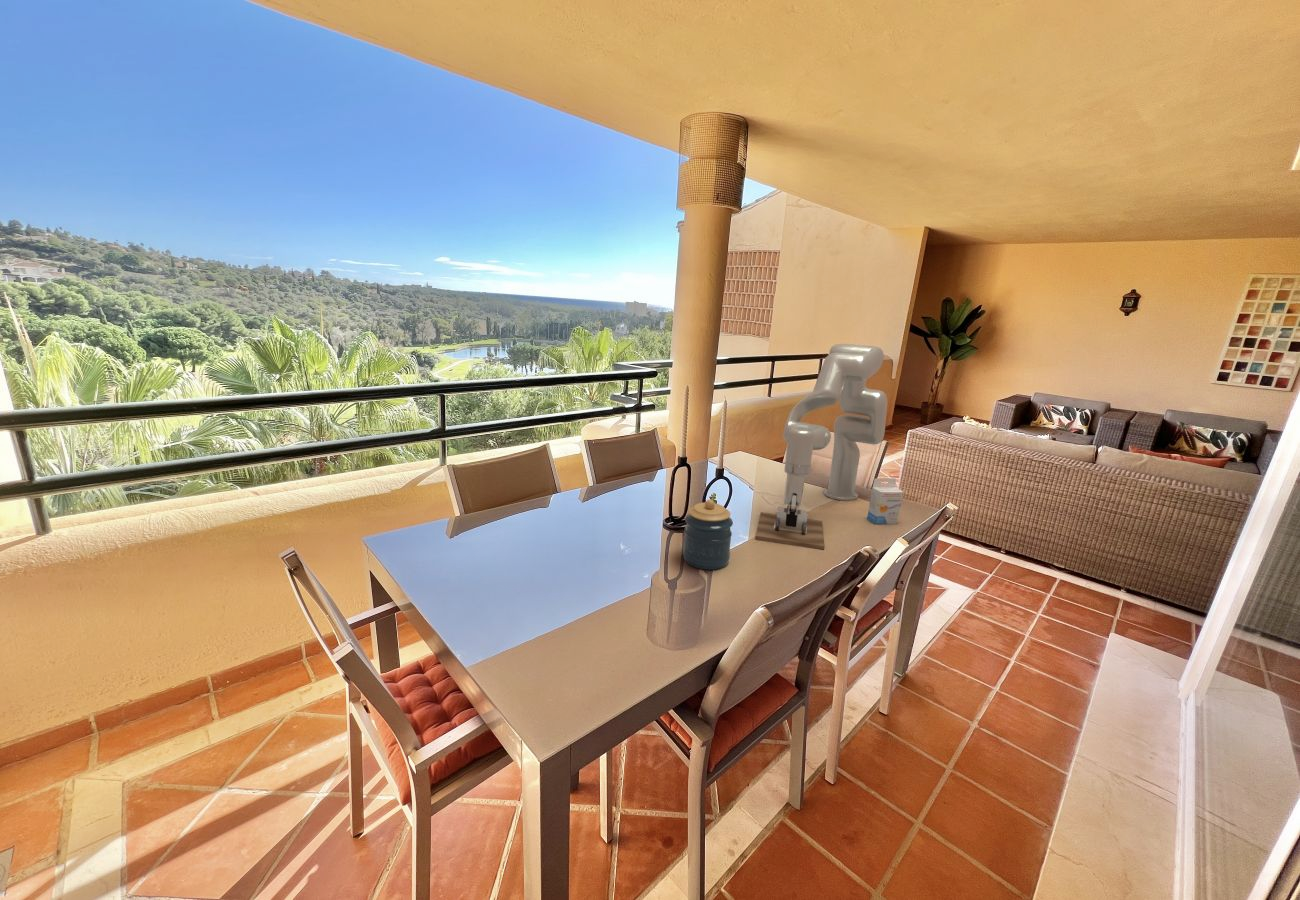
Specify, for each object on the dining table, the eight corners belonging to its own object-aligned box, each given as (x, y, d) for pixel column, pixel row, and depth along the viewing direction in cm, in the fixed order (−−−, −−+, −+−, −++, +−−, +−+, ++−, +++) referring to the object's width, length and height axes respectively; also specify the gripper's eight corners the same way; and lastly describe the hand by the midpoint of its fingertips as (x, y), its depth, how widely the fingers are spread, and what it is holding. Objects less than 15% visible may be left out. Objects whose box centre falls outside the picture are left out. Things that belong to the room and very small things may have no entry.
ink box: (874, 524, 167) (881, 483, 163) (866, 518, 172) (873, 478, 168) (898, 524, 168) (905, 482, 164) (889, 518, 173) (896, 477, 169)
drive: (776, 522, 162) (778, 506, 161) (805, 526, 160) (807, 510, 158) (775, 527, 158) (777, 511, 157) (805, 532, 156) (807, 515, 154)
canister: (728, 573, 132) (733, 511, 127) (679, 567, 134) (683, 506, 130) (730, 551, 144) (735, 494, 140) (685, 546, 147) (689, 489, 142)
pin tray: (760, 515, 171) (761, 503, 170) (821, 523, 166) (823, 512, 165) (755, 539, 153) (756, 526, 152) (824, 549, 148) (825, 536, 146)
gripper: (785, 459, 163) (779, 510, 168) (783, 474, 147) (777, 531, 152) (809, 461, 161) (803, 513, 166) (810, 477, 145) (803, 534, 150)
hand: (791, 521), depth 159 cm, fingers open, 6 cm apart
